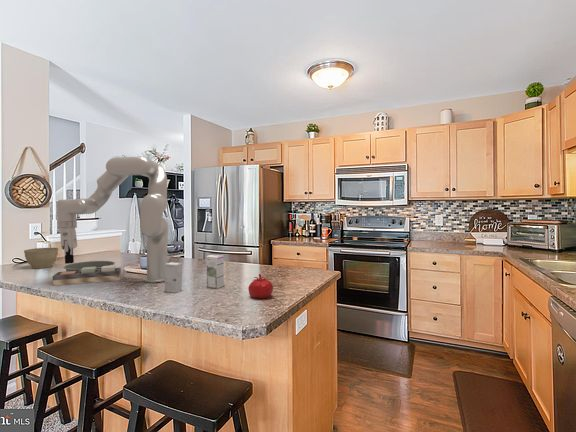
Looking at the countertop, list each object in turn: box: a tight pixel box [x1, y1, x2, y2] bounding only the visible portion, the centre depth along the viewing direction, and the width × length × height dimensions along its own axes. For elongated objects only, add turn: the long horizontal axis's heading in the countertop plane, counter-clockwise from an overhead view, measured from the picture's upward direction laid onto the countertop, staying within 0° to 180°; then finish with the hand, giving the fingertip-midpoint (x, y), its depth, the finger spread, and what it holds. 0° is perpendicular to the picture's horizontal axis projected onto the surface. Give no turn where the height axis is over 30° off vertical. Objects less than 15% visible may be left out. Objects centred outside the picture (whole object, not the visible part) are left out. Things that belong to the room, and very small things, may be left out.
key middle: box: [81, 267, 96, 273], centre depth 154 cm, size 6×6×2 cm
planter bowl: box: [23, 247, 59, 269], centre depth 187 cm, size 16×16×11 cm
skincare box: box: [164, 261, 183, 294], centre depth 135 cm, size 6×4×12 cm
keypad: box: [52, 267, 122, 287], centre depth 154 cm, size 27×10×4 cm, turn 114°
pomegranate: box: [247, 273, 274, 299], centre depth 127 cm, size 10×10×9 cm
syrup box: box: [206, 253, 225, 290], centre depth 142 cm, size 6×6×14 cm
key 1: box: [60, 271, 76, 275], centre depth 150 cm, size 6×6×2 cm
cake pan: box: [63, 260, 116, 271], centre depth 175 cm, size 25×25×4 cm
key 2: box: [101, 264, 116, 272], centre depth 157 cm, size 6×6×2 cm
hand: (69, 263), depth 150 cm, fingers closed
